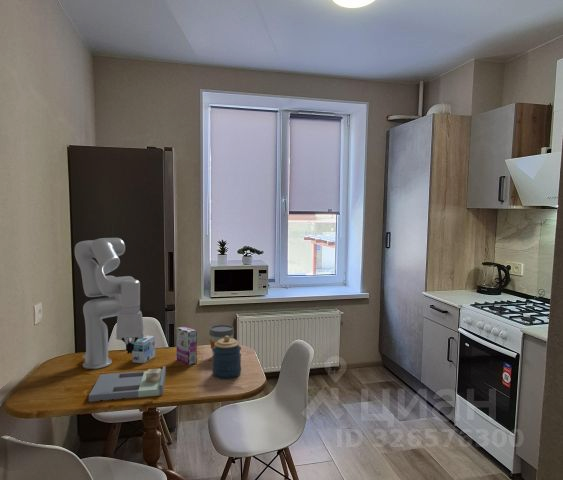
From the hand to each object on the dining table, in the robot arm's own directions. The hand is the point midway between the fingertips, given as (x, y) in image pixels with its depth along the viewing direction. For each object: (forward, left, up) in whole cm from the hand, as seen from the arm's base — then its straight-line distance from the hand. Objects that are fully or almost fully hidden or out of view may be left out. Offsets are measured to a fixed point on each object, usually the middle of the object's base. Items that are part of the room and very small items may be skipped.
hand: (130, 352), depth 161 cm
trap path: (0, -1, -15) cm, 15 cm away
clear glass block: (+8, +5, -12) cm, 15 cm away
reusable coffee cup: (+15, +46, -15) cm, 51 cm away
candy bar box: (+3, +33, -15) cm, 36 cm away
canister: (+29, +29, -15) cm, 44 cm away
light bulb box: (-18, +26, -15) cm, 35 cm away
